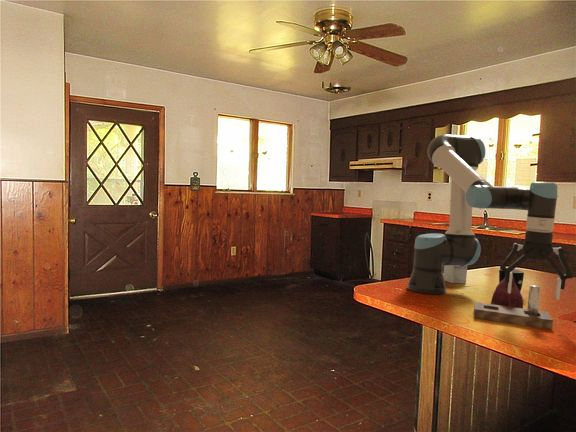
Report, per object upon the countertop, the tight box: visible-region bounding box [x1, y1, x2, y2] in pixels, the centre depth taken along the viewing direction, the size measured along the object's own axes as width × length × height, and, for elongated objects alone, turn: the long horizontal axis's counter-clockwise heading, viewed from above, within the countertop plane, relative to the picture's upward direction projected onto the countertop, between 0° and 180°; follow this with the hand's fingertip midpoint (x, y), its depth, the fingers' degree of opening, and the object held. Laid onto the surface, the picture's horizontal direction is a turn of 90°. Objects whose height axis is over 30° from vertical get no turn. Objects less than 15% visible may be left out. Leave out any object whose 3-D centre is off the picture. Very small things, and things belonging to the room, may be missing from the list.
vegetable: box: [490, 276, 524, 309], centre depth 149 cm, size 10×10×15 cm
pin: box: [527, 284, 541, 316], centre depth 135 cm, size 3×3×12 cm
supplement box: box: [443, 265, 468, 284], centre depth 193 cm, size 7×7×13 cm
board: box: [473, 301, 554, 331], centre depth 138 cm, size 22×10×3 cm, turn 67°
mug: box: [498, 268, 525, 292], centre depth 174 cm, size 12×9×10 cm
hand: (532, 295), depth 136 cm, fingers open, 13 cm apart
